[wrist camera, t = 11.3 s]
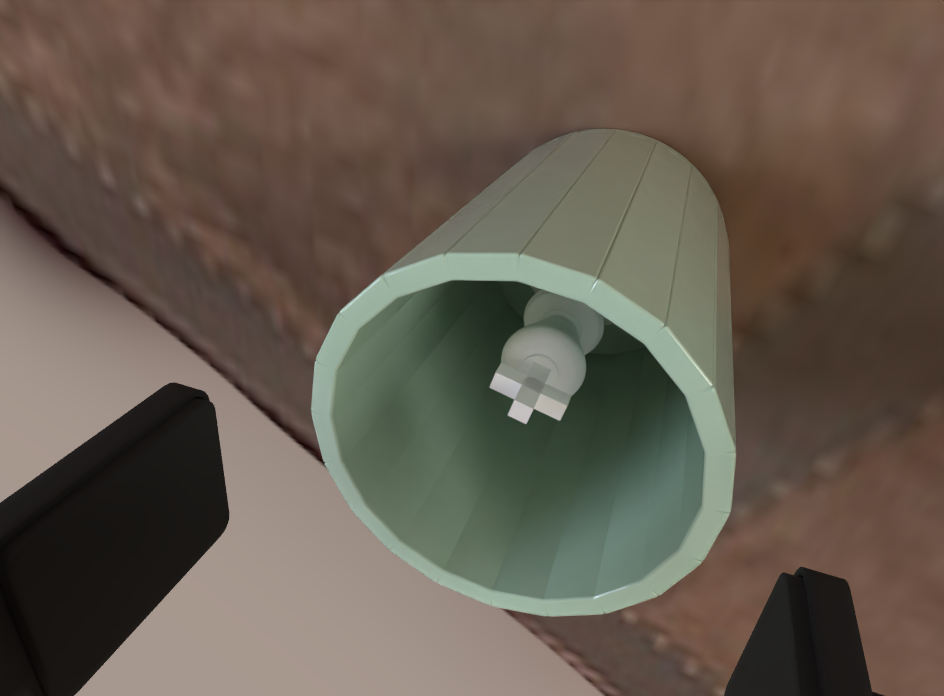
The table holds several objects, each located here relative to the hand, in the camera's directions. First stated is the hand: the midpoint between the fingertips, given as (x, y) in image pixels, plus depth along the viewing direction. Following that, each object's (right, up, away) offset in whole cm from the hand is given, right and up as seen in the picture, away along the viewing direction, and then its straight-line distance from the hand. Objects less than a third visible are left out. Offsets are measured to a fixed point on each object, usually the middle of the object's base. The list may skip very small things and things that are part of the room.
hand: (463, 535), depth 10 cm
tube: (+5, +6, +12) cm, 14 cm away
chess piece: (+4, +6, +12) cm, 14 cm away
